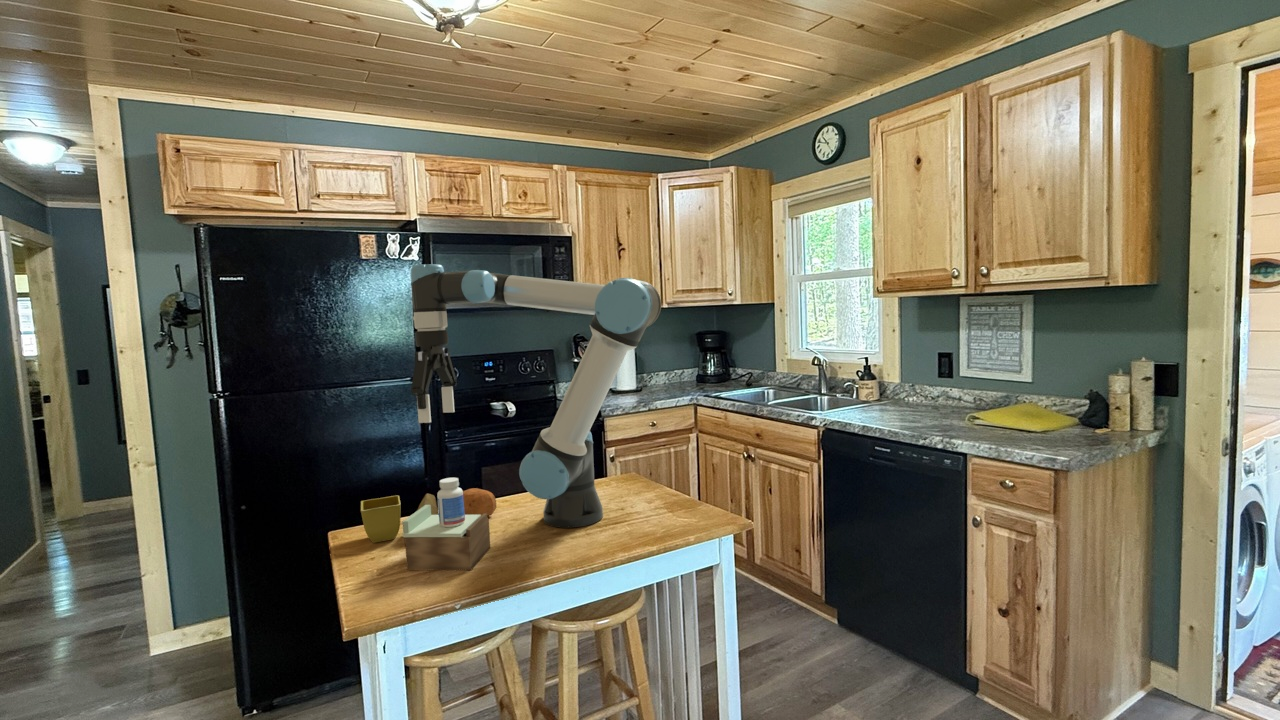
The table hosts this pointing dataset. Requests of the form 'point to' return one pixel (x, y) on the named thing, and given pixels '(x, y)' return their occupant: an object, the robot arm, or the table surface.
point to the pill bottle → (450, 503)
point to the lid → (433, 525)
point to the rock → (429, 503)
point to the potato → (478, 502)
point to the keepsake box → (449, 549)
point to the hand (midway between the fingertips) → (437, 417)
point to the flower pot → (381, 518)
